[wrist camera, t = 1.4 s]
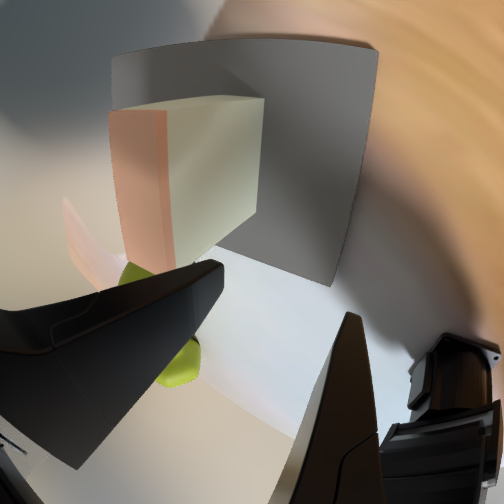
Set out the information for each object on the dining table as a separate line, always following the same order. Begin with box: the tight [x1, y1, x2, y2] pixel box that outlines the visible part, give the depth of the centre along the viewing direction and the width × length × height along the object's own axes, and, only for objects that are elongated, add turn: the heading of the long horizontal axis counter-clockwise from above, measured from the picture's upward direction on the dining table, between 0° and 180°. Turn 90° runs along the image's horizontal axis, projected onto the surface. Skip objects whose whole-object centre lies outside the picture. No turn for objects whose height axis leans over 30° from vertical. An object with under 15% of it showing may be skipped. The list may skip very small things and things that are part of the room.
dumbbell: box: [118, 261, 201, 388], centre depth 30 cm, size 16×8×7 cm, turn 174°
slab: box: [108, 95, 265, 275], centre depth 16 cm, size 3×8×9 cm, turn 177°
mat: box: [112, 38, 379, 287], centre depth 20 cm, size 22×16×1 cm
